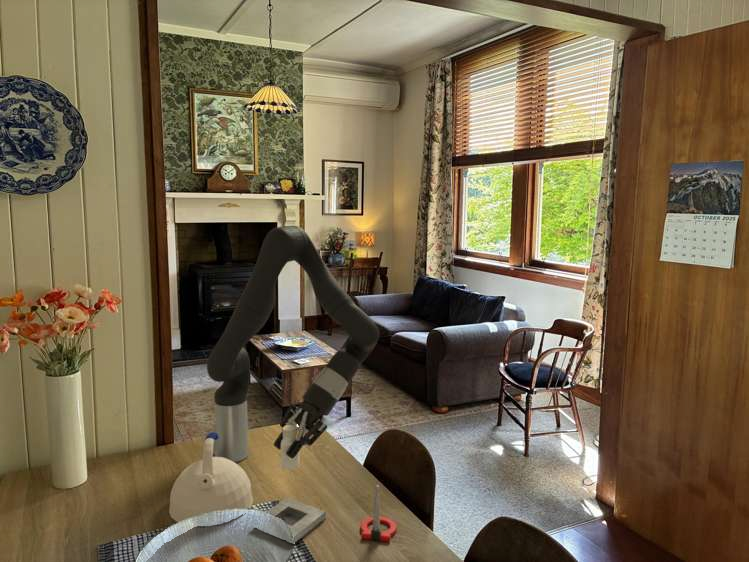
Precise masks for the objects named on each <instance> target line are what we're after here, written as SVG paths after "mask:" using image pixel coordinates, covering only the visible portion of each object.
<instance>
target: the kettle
mask: <svg viewBox="0 0 749 562" xmlns="http://www.w3.org/2000/svg"><path fill="white" fill-rule="evenodd" d="M218 438H219V437H218V434H217V433H215V432H213V431H211V432H209V433H207V435H206V436H205V438H204V443H203V446H202V447H203V449H202V459H198V460H196V461H194V462H192V463H191V464H189V465H188V466H187V467H186V468H185V469H184V470H182V472H181V473H180V474H179V475H178V477H177V478H176V480H175V481H174V483H173V486H172V488H171V491H170V496H169V497H170V499H169V510H168V513H169V515H170V518H171V519H172V520H174V521H175V522H176V523H178V522H177V521H180V520H183V519H186V518H189V517H192V516H196V515H200V514H203V513H207V512H210V511H216V510H224V509H234V508H249V509H250V508H251V507H252V505H253V502H254V499H253V493H252V486H251V481H250V479H249V477H248V474H247V473H246V472H245V470H244V469H243V468H242V467H241V466H240V465H239V464H238V463H237V462H233V461H231V460H228V459H226V458H223V457H216V456H215V454H214V440H217V439H218Z"/></svg>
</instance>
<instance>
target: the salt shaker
mask: <svg viewBox="0 0 749 562" xmlns="http://www.w3.org/2000/svg"><path fill="white" fill-rule="evenodd" d="M297 431H298V430H297V428H296V426H294V425H287V426H284V427H283V439H282V441H281V449H280V467H281V469H282V470H285V471H286V470H298V469H299V466H300V451H299V452H298V453H297V455H296V456H295V457H294V458H290V457H289V456H288V455H286V452H287V450H288V449H289V447H290V446H291V445H292V443H293V442H294V440H296V438H297V436H298V433H297ZM296 441H297V440H296Z"/></svg>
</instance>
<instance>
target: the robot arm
mask: <svg viewBox="0 0 749 562" xmlns="http://www.w3.org/2000/svg"><path fill="white" fill-rule="evenodd" d="M293 261H294V262H296V263H297V264H298V265H299V266H300V267H301V268H302V269H303V271H304V272H305V273H306V274H307V277H308V279H309V280H310V283H311V285H312V287H311V288H312V290H313V292H314V293H313V294H314V295H315V298H316V300H317V301H318V304H320V306H321V307H322V309H323V310H324V311H325V312H326V314H327V315H328V316H329V317H330V318H331V319H332V321H333V322H335V323H336V324H337V325H340V326H341V327H342V329H343V330H344V331H345V332H346V334H347V335H348V337H347V339H346V340H345V342H344V343H343V345H341V347H340V349H339V350H337V351H336V352H335V353H334V354H333V356H332V357H331V358H330V360H329V361H328V362H327V363H326V365H325V367H324V368H323V369H322V370H321V371H320V372H319V373H318V375H317V376H316V377H315V379H314V380H313V381H312V383H311V384H310V386H309V387H308V388H307V390H306V391H305V392H304V394H303V395H302V400H303V401H302V403H301V404H300V405H299V406H295V404H293V403H291V404H290V405H289V407H288V408H287V410H286V412H285V414H284V416H283V417H282V419H281V422H280V423H279V426H280V427H281V432H280V434H279V435H278V436H277V438H276V439H275V440H274V443H273V446H274V447H275V448H276V449H278V450H279V451H281V441H282V439H283V427H284V426H287V425H294V426H296V428H297V431H298V433H297V436H296V440H297V441H296V440H294V442H293V443H292V445H291V446H290V447H289V449H288V450H287V452H286V455H288V456H289V457H290V458H294V457H295V456H296V455H297V453H298V452H299V453H300V451H301V449H302V447H303V446H306V445H307V446H309V447H310V446H312V445H314V443H315V442H316V441H317V440H318V439H319V438H320V436H322V434H323V433H324V432H325V431H326V430H327V429H328V425H327V424H326V423H325V422H323V418H324V416H325V417H327V416H329V415H330V413H331V411H332V410H333V409H334V407H335V406H336V405H337V403H338V401H339V400H340V398H341V397H342V395H343V394H344V393H345V391H346V389H347V387H348V385H349V383H350V382H351V381H352V379H353V378H354V377H355V375H356V374H357V372H358V370H359V368H360V366H361V365H362V364H363V363H364V362H365V360H366V359H367V358H368V357H369V355H370V354H371V353H372V352H373V350H374V348H375V346H376V345H377V343H378V341H379V338H380V329H379V327H378V326H377V325H376V323H375V322H374V320H373V319H372V318H371V317H370V316H369V315H368V314H366V312H364V311H363V310H362V309H361V308H360V307H359V306H357V305H356V303H355V302H354V301H353V299H352V298H351V296H350V295H349V294H348V293H347V292H346V291H345V289H344V288H343V287H342V285H341V284H340V283H339V282H338V280H336V278H335V277H334V275H333V274H332V272H331V271H330V269H329V268H328V266H327V264H326V263H325V261H324V259H323V258H322V256H321V254H320V253H319V252H318V250H317V248H316V246H315V244H314V243H313V241H312V239H311V237H310V235H308V233H307V232H306V231H305V230H304V229H303V228H302V227H301V226H297V225H286V226H278V227H274V228H272V229H271V230H269V232H267V234H266V235H265V237H264V239H263V242H262V245H261V248H260V251H259V254H258V257H257V260H256V263H255V265H254V268H253V270H252V271H251V272H252V273H251V274H250V277H249V279H248V281H247V282H246V285H245V288H244V290H243V292H242V293H241V295H240V297H239V300H238V301H237V303H236V306H235V309H234V310H233V313H232V315H231V317H230V319H229V321H228V323H227V325H226V327H225V329H224V331H223V333H222V335H221V336H220V338H219V339H218V341H217V343H216V344H215V346H214V347H213V349H212V350H211V352H210V354H209V357H208V358H207V363H206V371H207V374H208V376H209V378H210V379H212V381H215V382H219V383H221V382H222V384H221V385H220V386H219V387H218V388H217V389H216V390H215V392H214V399H213V400H214V419H215V420H214V422H215V423H214V424H213V426H212V432H215V433H217V434H218V437H219V438H218V439H217V440H214V443H213V453H214V454H215V457H223V458H226V459H228V460H231V461H233V462H235V463H237V462H241V461H243V460H245V459H246V458H247V457H249V436H248V435H249V432H248V430H249V429H248V428H249V427H248V393H249V390H250V383H251V382H250V378H251V377H250V376H251V362H250V361H251V360H250V356H249V353H248V352H247V350H246V349H245V345H247V343H248V342H250V341H251V340H252V338H254V337H255V335H257V334H258V332H259V331H260V330H261V329H262V328H263V327H264V326H265V324H266V323H267V321H268V319H269V317H270V315H271V313H272V311H273V309H274V307H275V305H276V283H277V280H278V279H279V276H280V274H281V272H282V270H283V269H284V267H285V266H286V264H287V263H289V262H290V263H291V262H293Z"/></svg>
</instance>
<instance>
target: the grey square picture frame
mask: <svg viewBox="0 0 749 562" xmlns="http://www.w3.org/2000/svg"><path fill="white" fill-rule="evenodd" d="M265 512H266V513H269V514H271V515H272V516H275V517H278V518H281V519H284V521H285V522H286V523H287V525H288V526H289V528H290V529H291V531H292V533H293V536H294V540H295V542H297V541H298V540H299V539H301V538H302V539H303V538H305V537H306V536H307V535H309V533H311V532H313V530H315V529H316V528H317V527H318V526H320V525H321V524H322V523H323V522H325V520H327V517H326V515H327V512H326V511H325V510H322V509H319V508H318V507H314V506H311V505H309V504H307V503H303V502H301V501H298V500H296V499H293V498H291V497H290V498H289V497H285V498H284V499H282V500H281V501H280V502H278V503H277V504H275V505H274V506H272V507H271V508H270V509H268V510H267V511H265ZM285 515H286V516H285ZM285 518H286V519H285ZM302 539H301V540H302ZM298 542H299V541H298ZM298 542H297V543H298Z"/></svg>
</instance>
